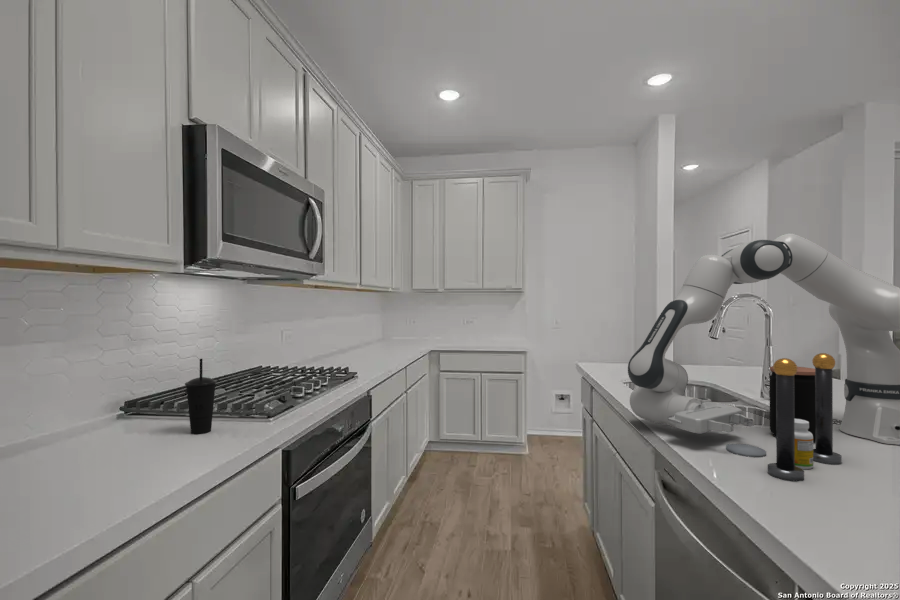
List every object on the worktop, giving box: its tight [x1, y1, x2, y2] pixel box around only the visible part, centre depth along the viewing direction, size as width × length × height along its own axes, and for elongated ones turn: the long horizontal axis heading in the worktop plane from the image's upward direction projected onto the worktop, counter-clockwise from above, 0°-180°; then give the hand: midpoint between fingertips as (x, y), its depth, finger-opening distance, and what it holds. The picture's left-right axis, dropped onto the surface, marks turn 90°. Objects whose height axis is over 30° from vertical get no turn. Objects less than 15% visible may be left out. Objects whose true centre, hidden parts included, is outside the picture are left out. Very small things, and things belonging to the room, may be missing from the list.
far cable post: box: [811, 352, 843, 466], centre depth 102 cm, size 6×6×24 cm
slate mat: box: [725, 443, 767, 458], centre depth 108 cm, size 8×8×1 cm
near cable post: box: [767, 357, 805, 482], centre depth 93 cm, size 6×6×24 cm
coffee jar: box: [769, 365, 815, 443], centre depth 119 cm, size 11×11×18 cm
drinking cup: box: [184, 358, 217, 435], centre depth 124 cm, size 8×8×20 cm
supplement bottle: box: [795, 419, 814, 470], centre depth 99 cm, size 5×5×10 cm
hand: (742, 425), depth 108 cm, fingers open, 8 cm apart
